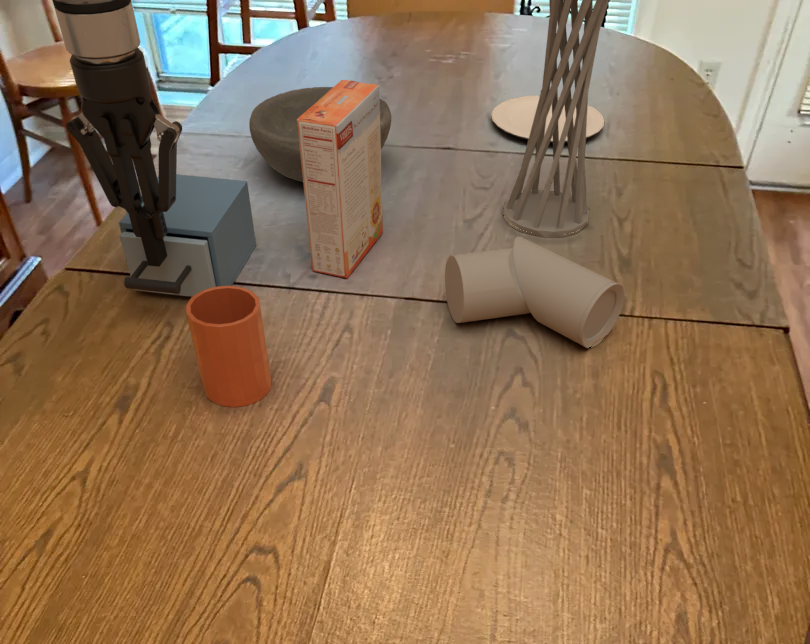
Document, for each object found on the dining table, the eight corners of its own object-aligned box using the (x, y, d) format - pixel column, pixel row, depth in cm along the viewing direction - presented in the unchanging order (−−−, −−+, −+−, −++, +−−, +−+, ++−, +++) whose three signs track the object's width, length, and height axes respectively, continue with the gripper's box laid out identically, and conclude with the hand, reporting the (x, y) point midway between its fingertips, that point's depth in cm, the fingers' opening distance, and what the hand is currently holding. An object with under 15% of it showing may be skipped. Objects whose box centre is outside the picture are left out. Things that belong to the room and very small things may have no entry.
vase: (535, 188, 129) (572, -77, 103) (605, 214, 124) (662, -59, 97) (485, 217, 123) (510, -58, 96) (556, 247, 117) (604, -37, 91)
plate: (565, 97, 155) (566, 88, 154) (625, 138, 143) (627, 128, 141) (471, 113, 149) (471, 103, 148) (525, 157, 137) (526, 147, 136)
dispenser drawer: (200, 323, 101) (188, 268, 96) (116, 313, 103) (100, 258, 97) (245, 249, 114) (237, 196, 108) (171, 241, 115) (159, 188, 109)
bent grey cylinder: (575, 266, 111) (439, 283, 107) (596, 202, 102) (448, 219, 98) (620, 361, 103) (475, 383, 100) (647, 301, 94) (488, 323, 90)
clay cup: (194, 402, 92) (175, 321, 84) (217, 362, 98) (200, 282, 89) (260, 410, 92) (246, 330, 83) (279, 369, 97) (268, 289, 88)
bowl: (293, 135, 142) (288, 74, 135) (409, 155, 137) (410, 93, 129) (230, 188, 128) (220, 124, 120) (356, 214, 123) (354, 148, 115)
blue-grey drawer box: (224, 299, 107) (211, 231, 100) (136, 289, 108) (118, 222, 101) (256, 245, 116) (247, 180, 109) (175, 237, 118) (161, 172, 110)
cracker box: (347, 227, 120) (340, 76, 104) (384, 234, 119) (382, 83, 103) (308, 272, 112) (294, 115, 96) (347, 280, 110) (339, 123, 94)
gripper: (177, 43, 83) (216, 250, 101) (63, 35, 85) (121, 241, 103) (150, 68, 78) (196, 281, 96) (29, 59, 80) (96, 271, 98)
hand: (157, 260), depth 99 cm, fingers closed
